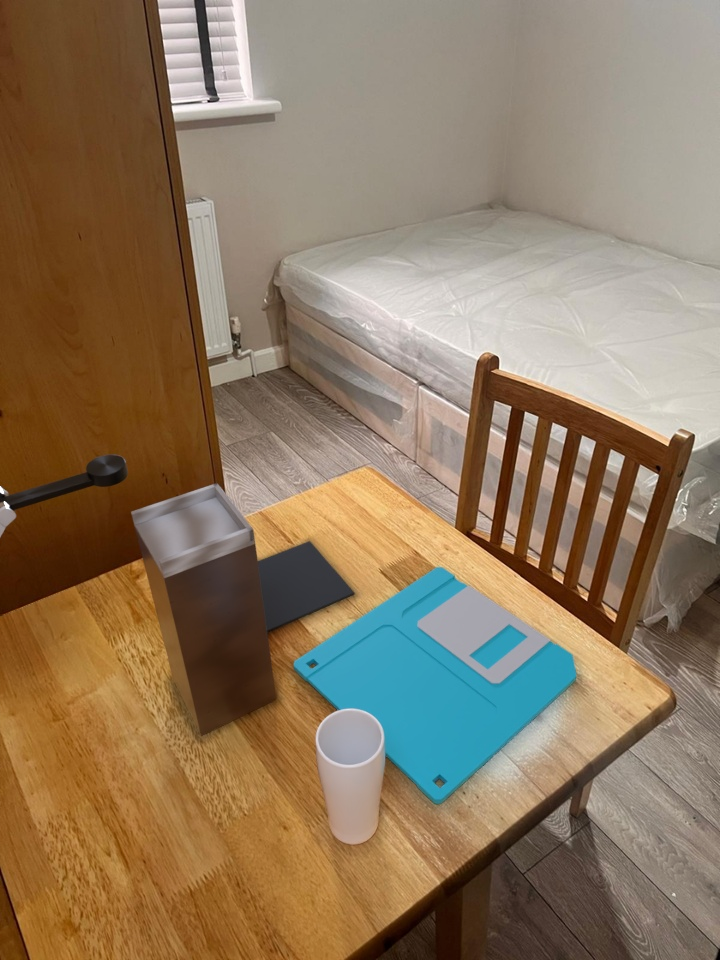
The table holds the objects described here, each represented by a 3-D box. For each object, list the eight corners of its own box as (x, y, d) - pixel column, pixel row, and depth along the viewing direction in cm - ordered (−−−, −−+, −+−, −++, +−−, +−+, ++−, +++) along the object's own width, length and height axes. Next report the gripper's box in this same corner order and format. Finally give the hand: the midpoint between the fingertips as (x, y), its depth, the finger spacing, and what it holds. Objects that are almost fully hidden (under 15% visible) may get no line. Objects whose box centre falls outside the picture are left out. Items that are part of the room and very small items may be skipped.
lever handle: (-36, 532, 76) (-41, 520, 76) (-42, 510, 80) (-47, 498, 79) (133, 479, 84) (130, 468, 83) (121, 461, 87) (119, 450, 86)
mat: (199, 662, 97) (199, 660, 97) (165, 599, 107) (164, 597, 107) (354, 594, 107) (354, 592, 107) (309, 542, 117) (309, 540, 117)
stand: (201, 736, 88) (160, 563, 72) (173, 680, 95) (130, 511, 79) (276, 700, 92) (253, 529, 76) (244, 648, 99) (217, 482, 83)
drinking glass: (348, 867, 74) (344, 781, 66) (309, 819, 79) (300, 732, 70) (398, 826, 78) (400, 739, 69) (358, 782, 82) (355, 695, 74)
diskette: (291, 668, 96) (291, 663, 95) (439, 570, 111) (439, 565, 110) (437, 807, 79) (438, 802, 79) (587, 670, 94) (588, 665, 94)
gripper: (-111, 636, 69) (1, 536, 70) (-123, 523, 83) (-30, 441, 84) (-55, 661, 74) (50, 567, 75) (-75, 549, 88) (13, 472, 89)
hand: (7, 499), depth 80 cm, fingers closed on lever handle, 2 cm apart
